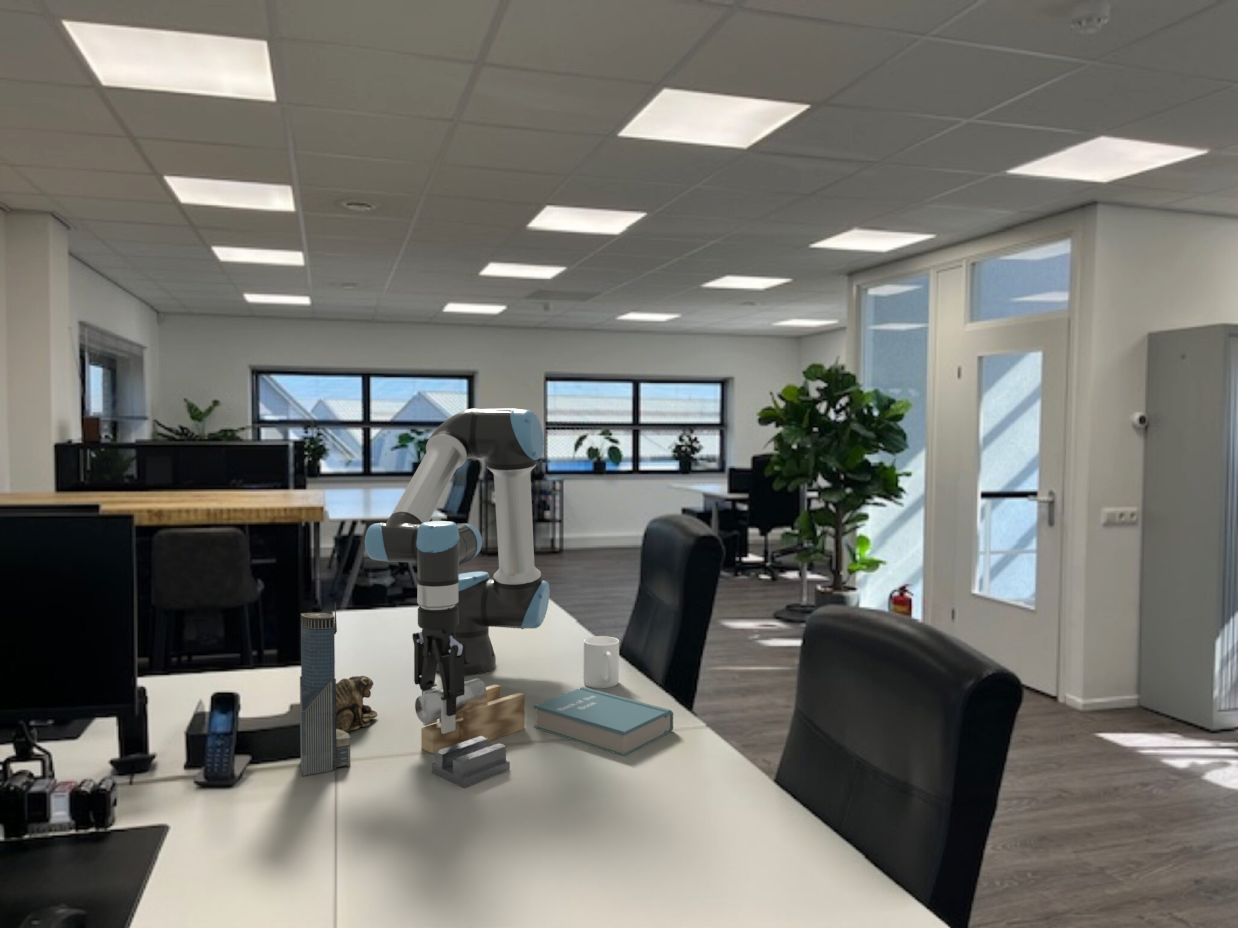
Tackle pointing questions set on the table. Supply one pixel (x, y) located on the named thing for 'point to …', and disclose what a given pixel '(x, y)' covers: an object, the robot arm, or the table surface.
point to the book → (603, 720)
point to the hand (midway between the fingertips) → (439, 726)
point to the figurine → (353, 703)
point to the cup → (601, 662)
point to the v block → (470, 761)
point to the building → (320, 698)
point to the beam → (479, 721)
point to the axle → (473, 696)
